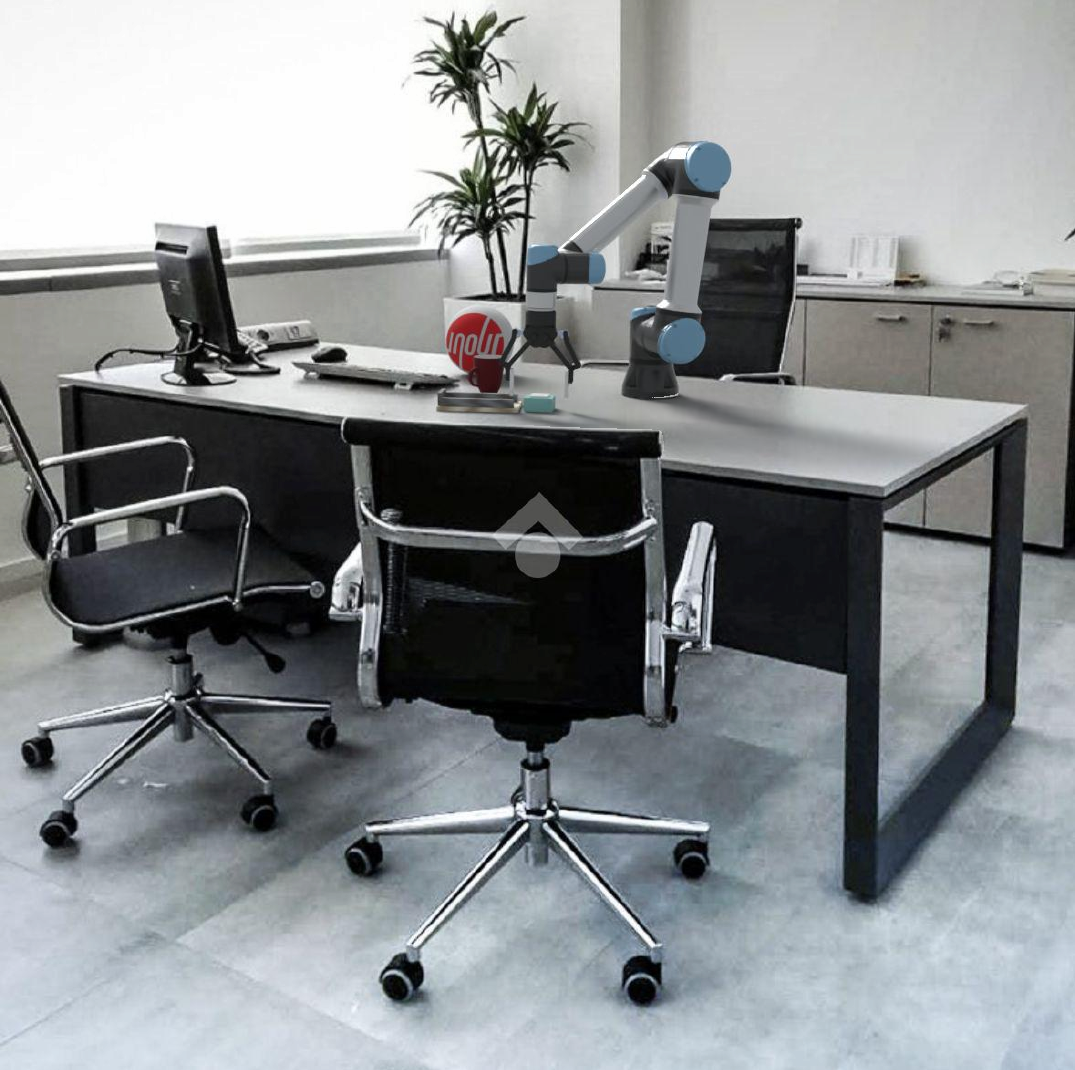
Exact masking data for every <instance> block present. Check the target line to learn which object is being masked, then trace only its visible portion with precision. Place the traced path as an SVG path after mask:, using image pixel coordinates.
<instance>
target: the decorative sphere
mask: <svg viewBox="0 0 1075 1070" xmlns="http://www.w3.org/2000/svg"><path fill="white" fill-rule="evenodd" d="M513 329H514V328H513V327H512V325H511V323H510V321H509V319H508V318H507V316H506V315H505V314H503V312H501V311H500V310H499V309H496V308H494V307H493V306H489V305H486V304H475V305H474V304H473V305H469V306H467V307H465V308H462V309H461V310H459V311H458V312H457V313H456V314H455V315H454V316H453V317H452V318H451V320H450V321H449V323H448V324H447V327H446V330H445V334H444V335H445V336H444V343H445V345H444V347H445V350H446V354H447V355H448V357H449V359H450V360H451V362H452V363H453V365H454V366H455V367H456V368H458V369H459V370H460V371H462V372H465V373H466V374H467V375H468V374H469V371H470V370H471V369H472V368H474V356H476V355H501V356H502V355H503V353H504V351H505V349H506V347H507V345H508V343H509V341H510V339H511V336H512V330H513ZM514 348H515V344H514V345H513V347H512V349H511V351H510V353H509V355H508V356H507V358H506V360H505V361H506V362H509V361H510V360H511V358H512V355H513V352H514ZM473 376H475V372H474V374H473Z"/></svg>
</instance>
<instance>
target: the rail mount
mask: <svg viewBox="0 0 1075 1070" xmlns="http://www.w3.org/2000/svg"><path fill="white" fill-rule="evenodd" d="M509 394H510V393H505V392H504V393H498V392H497V393H480V392H465V391H463V392H461V391H447V388H444V387H443V388H441V389H440V390H439V391H438V392H437V405H436V407H435V409H436V412H437V411H439V412H465V411H469V412H471V413H477V412H478V413H499V414H500V413H503V414H504V413H505V414H508V413H509V414H518V413H519V411H520V409H521V408H522V406H523V401H522V400H518V399H519V398H518V397H519V395H518V393H514V394H513V396H509Z"/></svg>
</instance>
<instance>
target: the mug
mask: <svg viewBox="0 0 1075 1070" xmlns="http://www.w3.org/2000/svg"><path fill="white" fill-rule="evenodd" d="M500 358H501V355H476V356H474V368H472V369H471V370H470V371H469V374H468V373H467V381H468V383H469V385H471V386H473V387H477V389H478V390H479V393H498V392H499V390H500V389H501V386H502V382H503V378H504V371H505V368H504V367H503V366H499V365H498V362H499V360H500ZM474 372H475V375H473V374H474ZM473 376H475V382H476V383H475V382H474V381H473Z"/></svg>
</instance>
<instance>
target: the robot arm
mask: <svg viewBox="0 0 1075 1070" xmlns="http://www.w3.org/2000/svg"><path fill="white" fill-rule="evenodd" d="M731 162H732V161H731V158H730V155H729V153H727V151H726V150H725V148H724V147H722V146H721V145H719V144H718V143H715V142H711V141H707V140H699V141H698V140H697V141H681V142H678V143H676V144H673V145H672V146H670V147H669V148H668V149H665V151H664V152H662V153H661V154H660V155H659V156H657V157H656V158H655V159H654V160H653V161H652V162H650V164H648V165H647V166H646V167H645V168H644V169H643V170H642V171H641V176H640V178H638V179H637V180H636V181H635V182H634V183H632V185H630V186H629V187H628V188H627V189H625V191H623V193H621V194H620V195H619V196H617V197H616V198H615V199H614V200H613V201H612V202H610V203H609V205H607V206H606V207H605V208H603V209H602V211H600V212H599V213H598V214H596V216H594V217H593V218H592V219H591V220H590V221H589V222H588V223H587V224H585V225H584V226H583V227H582V228H581V229H579V231H577V232H576V233H575V234H574V235H573V236H571V237H570V238H569V239H568V240H567V241H565V242H564V243H563V244H561V246H558V245H557V244H552V243H532V244H530V245H529V246H528V247H527V252H526V262H525V263H526V264H525V265H526V276H525V277H526V278H525V279H526V285H525V286H526V288H525V308H527V309H526V310H525V317H524V318H525V320H524V321H525V322H524V323H525V324H524V325H525V326H524V328H523V329H520V328H517V327H514V328H512V329H513V330H512V336H511V339H510V341H509V343H508V345H507V347H506V349H505V351H504V353H503V355H502V356H501V358H500V360H499V362H498V365H499V366H503V367H504V370H505V375H504V376H505V381H506V382H509V393H508V394H509V396H513V394H515V393H514V392H515V367H513V365H514V364H515V362H517V360H519V358H520V357H521V356H522V355H523V354H524V352H525V351H526V350H527V349H528V348H529V347H532V348H533V349H538V348H540V349H541V348H542V349H547V348H549V347H550V349H551V350H552V351H553V352H554V354H555V355H556V356H557V357H558V359H559V360H560V361H561V362H562V364H563V365H564V366H565V367H566V369H565V370H564V396H563V397H564V399H568V398H569V385H572V384H573V383H574V372H575V370H579V369H580V368H581V367H582V363H581V361H580V359H579V356H578V354H577V352H576V349H575V348H574V345H573V343H572V341H571V339H570V331H569V330H568V329H564V330H558V329H557V311H556V310H555V309H557V303H558V301H557V300H558V285H589V286H591V285H599V284H601V283H602V282H603V281H604V280H605V278H606V274H607V272H606V271H607V264H606V259H605V257H604V255H603V254H601V252H602V251H603V250H604V249H606V247H608V246H610V244H611V243H613V242H614V241H615V240H616V239H617V238H618V237H619V236H620V235H622V234H623V233H624V232H626V230H627V229H629V228H630V227H632V225H633V224H634V223H636V222H637V221H638V220H639V219H640V218H641V217H643V216H644V215H645V214H647V212H649V210H651V209H652V208H653V207H654V206H655V205H657V204H658V203H659V202H660V201H663V202H666V201H667V200H669V198H671V197H673V198H674V200H675V202H676V209H675V216H674V223H673V230H672V235H671V244H670V252H669V257H668V265H667V272H666V277H665V285H664V291H663V299H662V301H660V302H659V303H657V305H656V306H654V307H652V306H649V307H634V308H633V309H632V310H631V312H630V319H629V348H628V349H629V350H628V351H629V354H628V355H629V357H628V361H629V362H628V367H627V370H626V373H625V375H624V378H623V380H622V384H621V394H622V395H623V396H625V397H630V398H634V397H638V398H637V399H645V398H652V397H653V398H654V397H664V396H670V395H675V394H677V393H679V390H680V387H679V383H678V380H677V376H676V373H675V368H674V364H676V365H684V364H688V363H691V362H692V361H693V360H695V359H696V358H697V357H699V355H700V354H701V352H702V351H703V350H704V347H705V344H706V332H705V330H704V328H703V326H702V325H701V320H702V315H703V311H702V310H701V308H700V307H699V305H698V299H699V293H700V287H701V280H702V279H701V278H702V273H703V268H704V267H703V266H704V259H705V254H706V247H707V240H708V233H709V227H710V220H711V213H712V208H713V207H714V206H715V205H716V204H717V203H719V202H720V198H721V197H720V195H721V190H722V188H723V187H725V185H727V183H728V182H729V180H730V178H731V174H732V163H731ZM522 335H523V336H524V338H525V339H526V341H525V343H524V344H523V345H522V346H521V347H520V348H519V349H518V350H517V351H516V352H515V353H514V355H513V356H511V357H510V359H509V360H508V362H506V361H505V360H506V358H507V356H508V355H509V353H510V351H511V349H512V347H513V345H514V346H515V343H516V341H517V339H519V338H520V337H521V336H522ZM557 337H560V339H561V340H563V341H564V344H565V347H566V349H567V351H568V354H569V355H570V357H571V360H572V362H573V364H572V362H571V361H570V360H569V358H568V357H567V356H566V355H565V353H564V352H563V351H562V349H560V347H559V346H558V344H557V343H556V341H555V340H556V338H557ZM679 394H680V393H679Z"/></svg>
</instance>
